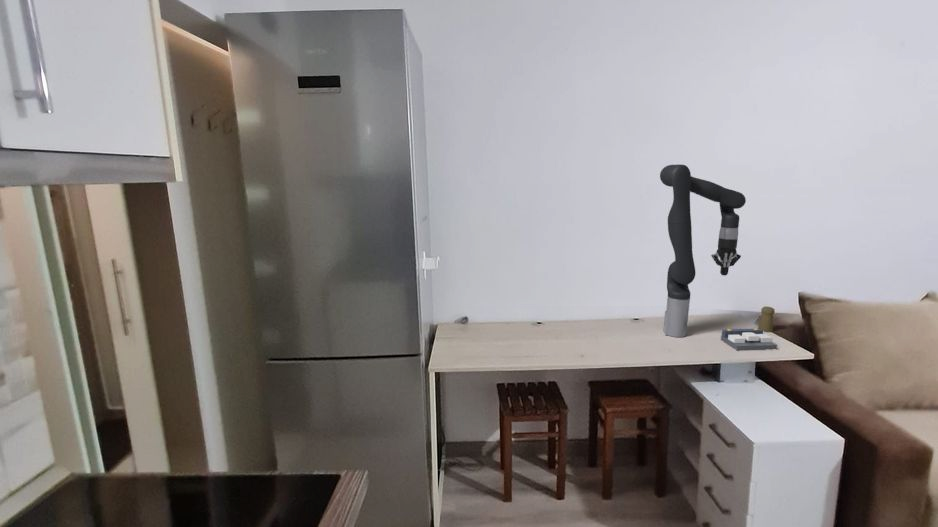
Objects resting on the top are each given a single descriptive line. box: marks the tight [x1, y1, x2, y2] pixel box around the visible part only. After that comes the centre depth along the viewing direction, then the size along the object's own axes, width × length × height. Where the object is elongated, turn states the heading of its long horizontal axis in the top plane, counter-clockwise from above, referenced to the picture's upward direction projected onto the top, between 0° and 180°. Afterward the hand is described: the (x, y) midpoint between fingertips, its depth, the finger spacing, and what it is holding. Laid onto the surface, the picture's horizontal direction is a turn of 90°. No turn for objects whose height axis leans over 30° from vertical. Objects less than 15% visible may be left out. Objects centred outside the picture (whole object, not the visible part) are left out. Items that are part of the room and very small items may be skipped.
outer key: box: [756, 333, 774, 343], centre depth 211 cm, size 5×5×2 cm
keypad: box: [720, 327, 778, 351], centre depth 212 cm, size 17×12×5 cm
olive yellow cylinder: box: [757, 306, 775, 333], centre depth 229 cm, size 6×6×11 cm
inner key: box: [728, 335, 745, 343], centre depth 210 cm, size 5×5×2 cm
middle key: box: [742, 332, 759, 341], centre depth 211 cm, size 5×5×2 cm
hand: (723, 275), depth 225 cm, fingers closed
